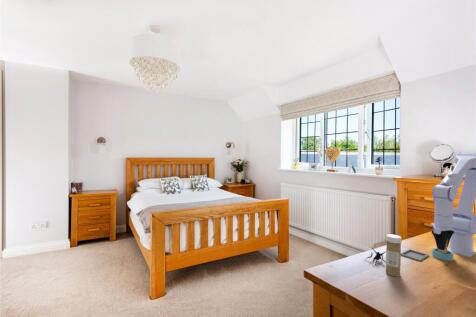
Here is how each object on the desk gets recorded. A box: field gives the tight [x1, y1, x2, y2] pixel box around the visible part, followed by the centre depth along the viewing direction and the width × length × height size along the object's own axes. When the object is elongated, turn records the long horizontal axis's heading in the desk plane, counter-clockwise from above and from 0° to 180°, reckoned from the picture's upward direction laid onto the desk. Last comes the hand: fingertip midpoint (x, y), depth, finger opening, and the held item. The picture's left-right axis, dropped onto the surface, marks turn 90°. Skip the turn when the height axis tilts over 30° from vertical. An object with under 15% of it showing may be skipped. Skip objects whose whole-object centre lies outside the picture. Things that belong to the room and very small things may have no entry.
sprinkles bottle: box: [385, 233, 403, 277], centre depth 87 cm, size 5×5×14 cm
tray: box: [401, 248, 430, 262], centre depth 102 cm, size 9×7×1 cm
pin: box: [437, 239, 448, 254], centre depth 100 cm, size 3×3×8 cm
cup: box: [431, 247, 455, 262], centre depth 101 cm, size 7×7×3 cm
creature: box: [365, 246, 386, 267], centre depth 96 cm, size 8×5×8 cm
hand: (442, 248), depth 100 cm, fingers closed on pin, 3 cm apart
